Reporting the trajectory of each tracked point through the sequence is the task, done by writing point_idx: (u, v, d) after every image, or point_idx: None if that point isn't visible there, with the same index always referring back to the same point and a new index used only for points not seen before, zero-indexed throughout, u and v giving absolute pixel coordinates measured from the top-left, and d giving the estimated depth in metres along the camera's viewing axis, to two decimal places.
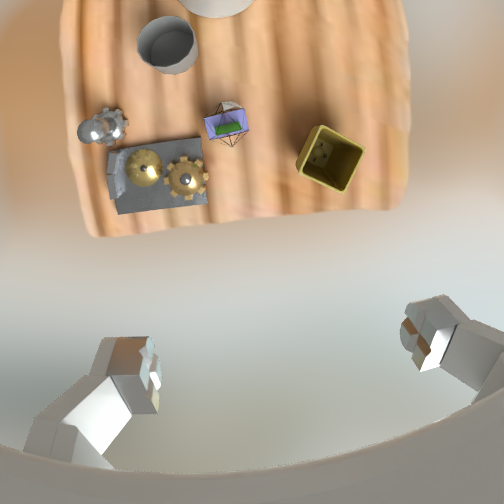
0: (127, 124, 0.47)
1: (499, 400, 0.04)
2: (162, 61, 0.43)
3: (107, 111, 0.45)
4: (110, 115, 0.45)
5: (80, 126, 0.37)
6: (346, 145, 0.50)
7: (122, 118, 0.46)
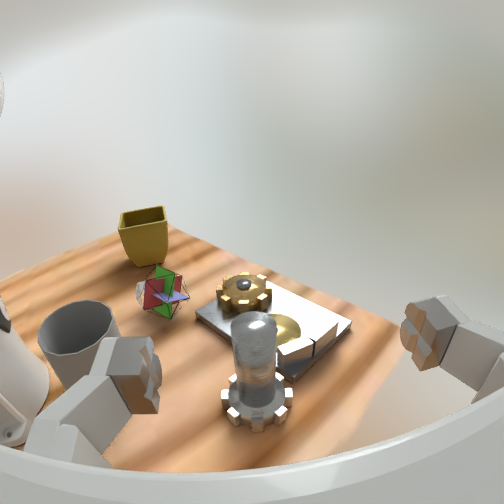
0: None
1: (499, 400, 0.04)
2: None
3: (233, 408, 0.27)
4: (236, 399, 0.27)
5: (254, 338, 0.22)
6: None
7: None
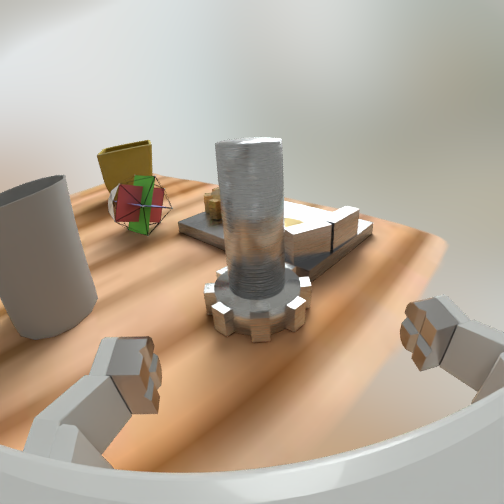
0: None
1: (499, 400, 0.04)
2: None
3: (221, 303, 0.19)
4: (227, 292, 0.19)
5: (249, 144, 0.15)
6: None
7: None
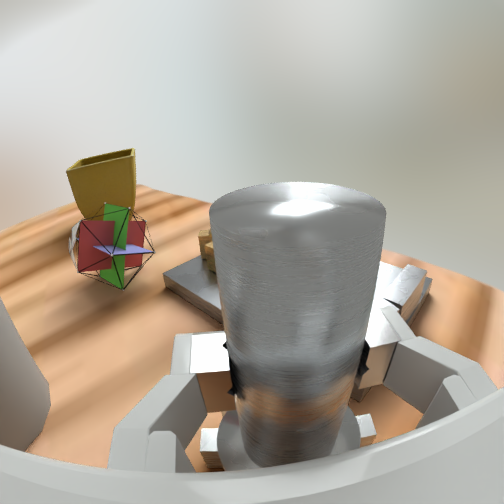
0: None
1: (499, 400, 0.04)
2: None
3: None
4: (239, 454, 0.10)
5: (315, 233, 0.05)
6: None
7: None
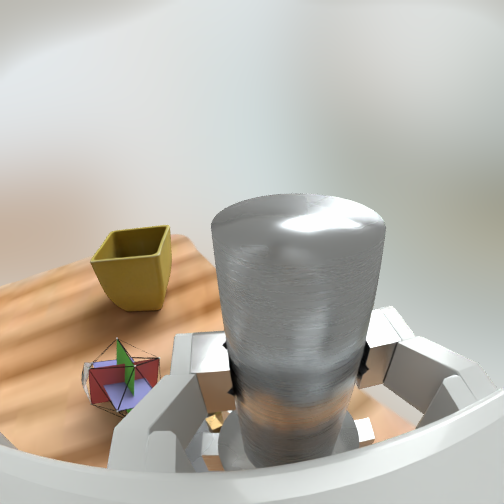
0: None
1: (499, 400, 0.04)
2: None
3: None
4: (240, 458, 0.10)
5: (316, 251, 0.05)
6: None
7: None
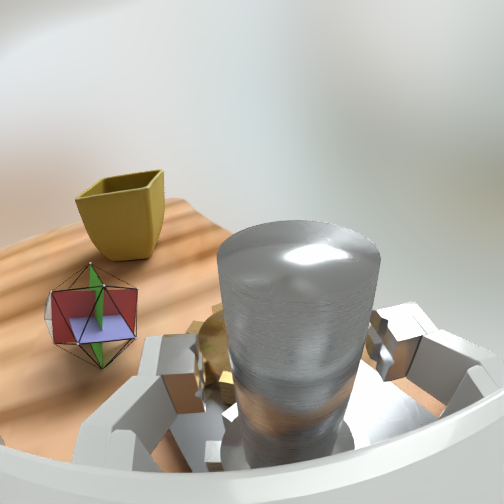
0: None
1: (499, 400, 0.04)
2: None
3: None
4: (241, 465, 0.10)
5: (314, 287, 0.05)
6: None
7: None
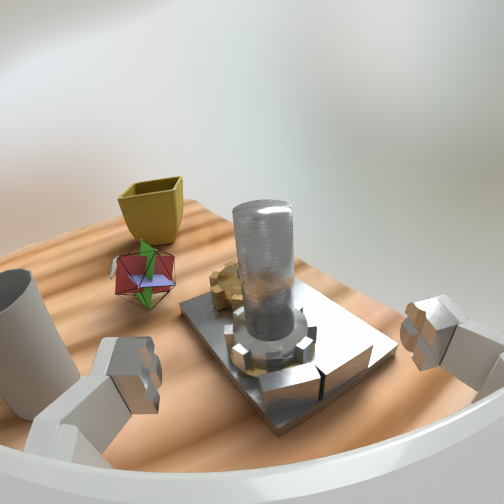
0: None
1: (499, 400, 0.04)
2: None
3: (240, 344, 0.21)
4: (244, 334, 0.22)
5: (264, 217, 0.17)
6: None
7: None
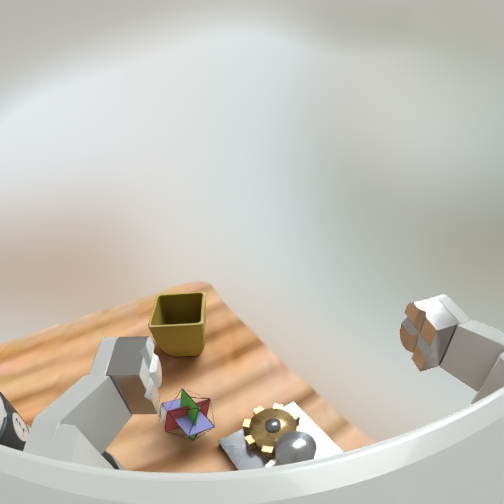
0: None
1: (499, 400, 0.04)
2: None
3: None
4: None
5: (298, 461, 0.22)
6: (166, 321, 0.54)
7: None
